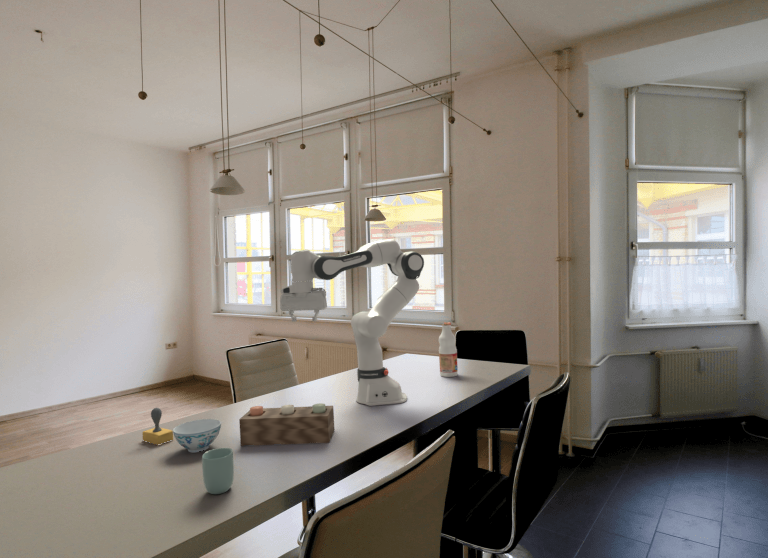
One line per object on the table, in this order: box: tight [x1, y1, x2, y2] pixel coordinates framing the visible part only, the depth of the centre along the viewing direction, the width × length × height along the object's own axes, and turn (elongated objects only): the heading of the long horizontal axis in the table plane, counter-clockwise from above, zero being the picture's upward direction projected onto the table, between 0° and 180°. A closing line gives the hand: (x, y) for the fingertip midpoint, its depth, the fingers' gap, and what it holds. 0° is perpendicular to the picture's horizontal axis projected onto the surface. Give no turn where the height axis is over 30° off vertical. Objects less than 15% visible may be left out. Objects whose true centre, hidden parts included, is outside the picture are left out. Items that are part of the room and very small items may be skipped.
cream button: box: [280, 404, 295, 415], centre depth 158 cm, size 4×4×3 cm
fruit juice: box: [438, 321, 459, 378], centre depth 241 cm, size 9×9×28 cm
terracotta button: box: [249, 405, 264, 416], centre depth 158 cm, size 4×4×3 cm
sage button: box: [311, 403, 326, 413], centre depth 157 cm, size 4×4×3 cm
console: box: [239, 405, 335, 447], centre depth 158 cm, size 30×12×9 cm, turn 87°
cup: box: [201, 447, 235, 495], centre depth 120 cm, size 8×8×10 cm
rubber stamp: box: [142, 407, 174, 446], centre depth 162 cm, size 10×6×12 cm, turn 58°
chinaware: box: [172, 418, 222, 453], centre depth 152 cm, size 15×15×8 cm
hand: (304, 321), depth 191 cm, fingers open, 8 cm apart
